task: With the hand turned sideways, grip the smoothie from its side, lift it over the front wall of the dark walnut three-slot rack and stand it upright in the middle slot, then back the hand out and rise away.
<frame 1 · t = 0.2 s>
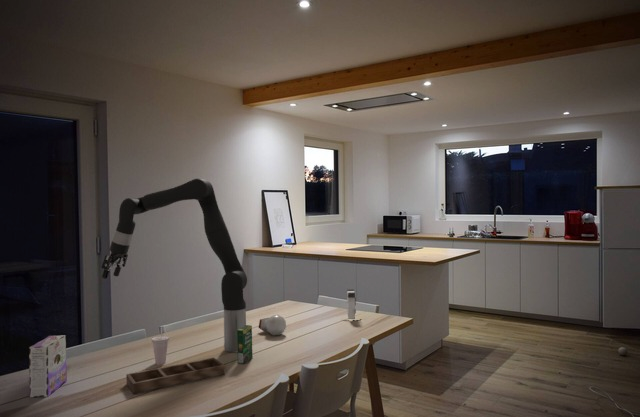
hand: (110, 277, 207), 31 cm above the table, tool tilted 20°, fingers open, 8 cm apart
candy box: (49, 390, 158), on the table
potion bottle: (272, 334, 224), on the table
smoothie: (160, 363, 184), on the table
slot rack: (176, 379, 165), on the table
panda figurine: (351, 319, 252), on the table
coffee box: (245, 361, 184), on the table
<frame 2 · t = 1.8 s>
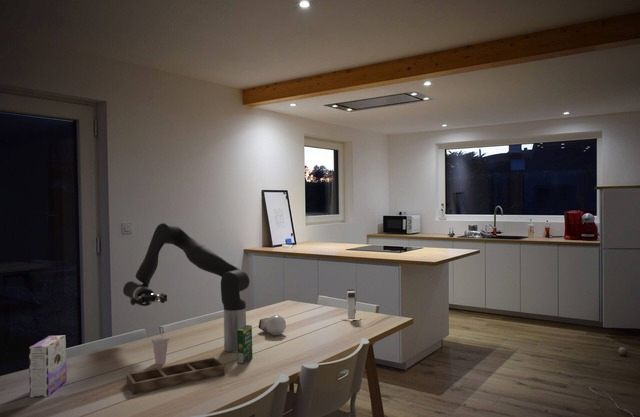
hand: (152, 301, 193), 22 cm above the table, tool horizontal, fingers open, 8 cm apart
nothing on the table moved.
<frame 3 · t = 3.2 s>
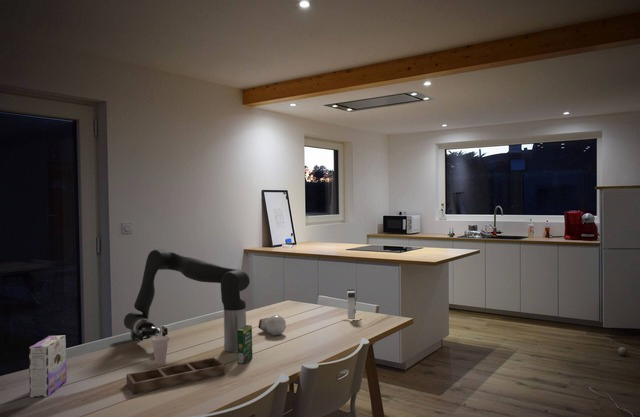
hand: (153, 336, 193), 8 cm above the table, tool horizontal, fingers open, 8 cm apart
nothing on the table moved.
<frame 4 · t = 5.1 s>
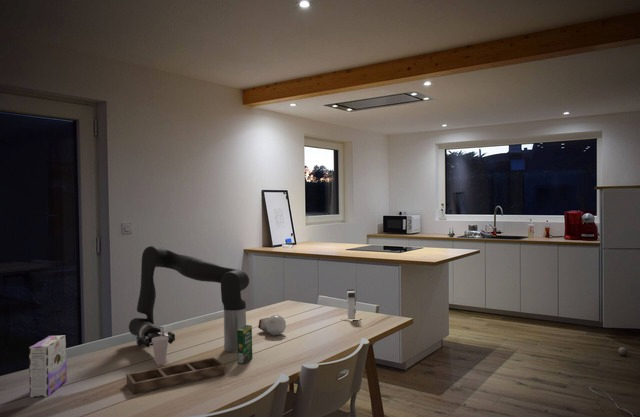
hand: (160, 342, 184), 8 cm above the table, tool horizontal, fingers open, 8 cm apart
nothing on the table moved.
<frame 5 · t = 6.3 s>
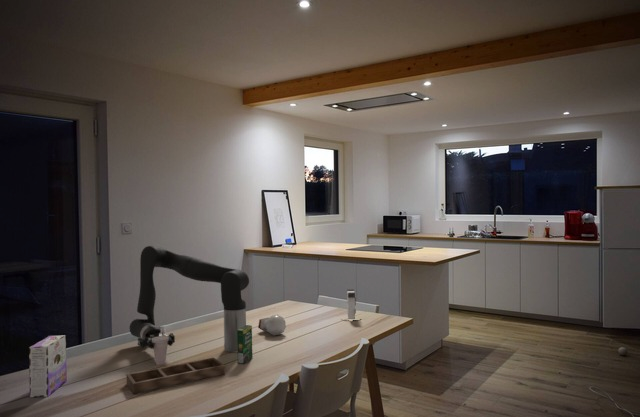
hand: (161, 344, 182), 8 cm above the table, tool horizontal, fingers closed on smoothie, 6 cm apart
smoothie: (160, 363, 184), on the table, touching gripper
everything else where it was.
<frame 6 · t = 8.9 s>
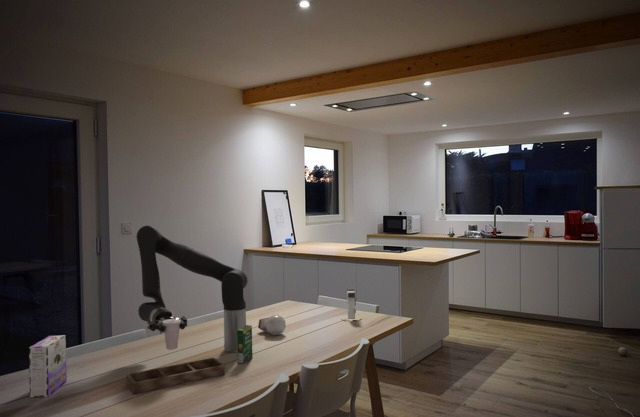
hand: (173, 327, 167), 18 cm above the table, tool horizontal, fingers closed on smoothie, 6 cm apart
smoothie: (171, 348, 169), point 10 cm above the table, touching gripper
everything else where it was.
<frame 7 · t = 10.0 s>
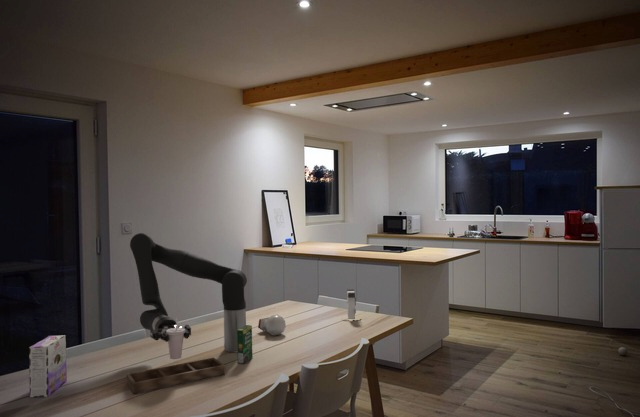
hand: (177, 337, 163), 15 cm above the table, tool horizontal, fingers closed on smoothie, 6 cm apart
smoothie: (175, 358, 165), point 8 cm above the table, touching gripper
everything else where it was.
when the fingers open (9 cm above the table, at t = 11.8 s): smoothie drops 1 cm, resting on slot rack.
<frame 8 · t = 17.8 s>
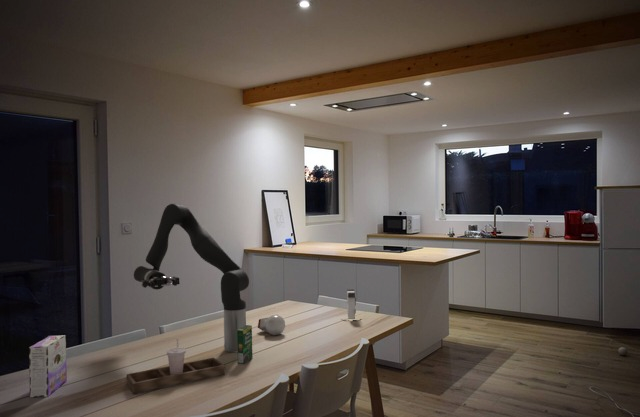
hand: (165, 284, 188), 30 cm above the table, tool horizontal, fingers open, 8 cm apart
smoothie: (176, 378, 165), resting on slot rack
everything else where it was.
at the end: smoothie 0.1 cm off-centre on the slot rack, point 0.3 cm above the slot rack's base; smoothie tilted 0°; the gripper is holding nothing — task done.
